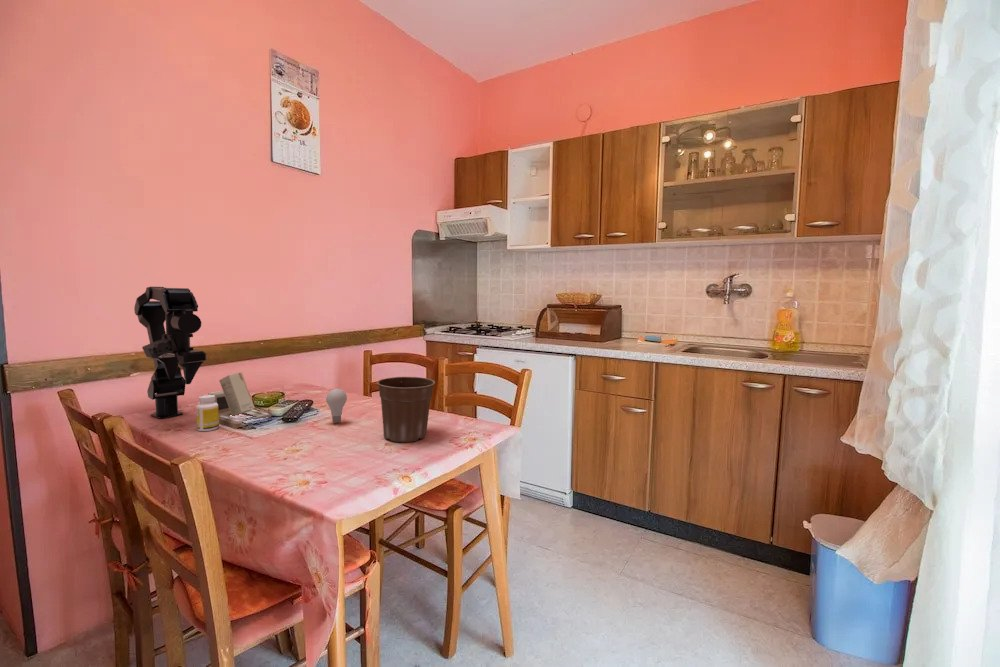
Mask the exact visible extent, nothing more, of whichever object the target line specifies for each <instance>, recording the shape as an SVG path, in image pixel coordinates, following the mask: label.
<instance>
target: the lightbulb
mask: <svg viewBox="0 0 1000 667" xmlns="http://www.w3.org/2000/svg"><path fill="white" fill-rule="evenodd" d="M347 396H348V395H347V394H346V392H345V390H343V389H341V388H333V389H331V390H329V391H328V392H327V394H326V396H325V401H326V404H327V405H328V407H329V409H330V415H331V420H332V423H335V424H339V423H340V422H341V421H342V414H343V409H344V407H345V405H346V403H347V400H348V397H347Z"/></svg>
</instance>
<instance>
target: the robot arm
mask: <svg viewBox="0 0 1000 667" xmlns="http://www.w3.org/2000/svg"><path fill="white" fill-rule="evenodd" d="M153 300H154V301H153ZM198 308H199V304H198V302H197V299H196V297H195V296H194V293H193V292H192V291H191V289H189V288H183V287H182V288H181V287H180V288H179V287H164V286H148V287H146V288H145V291H144V292H143V293H142V294H141V295H139V296H138V297H136V299H135V304H134V315H135V316H137V319H138V322H139V323H140V324H141V325H142V326H143V327H145V329H146V332H147V336H148V341H149V343H148V344H146V345H143V346H142V347H141V348H142V351H143V353H144V354H145V356H146V358H150V359H152V360H153V364H154V372H153V373H152V375H151V377H150V381H149V384H148V387H147V398H148V399H150V400H155V402H154V403H155V412H154V413H151V414H150V416H152V417H154V418H157V419H160V420H161V419H165V418H170V417H171V418H172V417H176V416H181V415H183V414H184V412H182V411H179V403H178V397H179V396H185V392H186V385H191V384H192V382H193V380H194V378H195V377H196V374H197V373H198V370H200V367H201V365H202V364H204V363H205V361H207V360H208V359H207V353H206V351H204V350H199V349H194V346H191V338H193V337H194V334H195V333H197V332H199V330H200V329H201V328H202V320H201V319H200V317H199V316H198V315H197V314H194V312H198V311H199V309H198ZM181 367H182V370H181ZM182 371H183V373H182ZM183 375H184V376H183Z"/></svg>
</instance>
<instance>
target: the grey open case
mask: <svg viewBox="0 0 1000 667" xmlns="http://www.w3.org/2000/svg"><path fill="white" fill-rule="evenodd" d="M207 395H215V401H214V402H216V403H217V404H218V412H219V425H223V426H225V425H226V427H228V426H230V427H229V428H232V427H234V428H233V429H235V428H238V427H240V425H241V423H242V422H243V421H247V420H251V419H258V418H266V417H271V416H272V415H271V414H270V413H267V412H263V411H259V410H255V409H252V410H250V411H247V412H245V413H247V414H251V415H255V416H257V417H253V418H248V419H244V420H240V421H239V420H236V419H232V418H229V417H228V416H230V415H232V414H231V412H230V409H229V406H228V403H227V400H226V398H225V395H224V392H223V390H219V391H214V392H212V391H211V392H208V393H207Z"/></svg>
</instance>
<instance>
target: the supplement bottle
mask: <svg viewBox="0 0 1000 667" xmlns="http://www.w3.org/2000/svg"><path fill="white" fill-rule="evenodd" d="M214 401H215V395H208V394H205V395H200V396H199V397H198V404H196V429H197V431H198V432H211V431H215V430H217V429H218V428H220V424H219V412H218V404H217V403H216V402H214Z"/></svg>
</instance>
